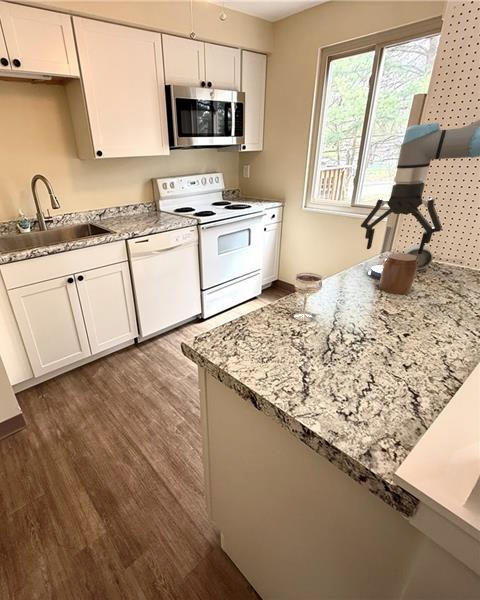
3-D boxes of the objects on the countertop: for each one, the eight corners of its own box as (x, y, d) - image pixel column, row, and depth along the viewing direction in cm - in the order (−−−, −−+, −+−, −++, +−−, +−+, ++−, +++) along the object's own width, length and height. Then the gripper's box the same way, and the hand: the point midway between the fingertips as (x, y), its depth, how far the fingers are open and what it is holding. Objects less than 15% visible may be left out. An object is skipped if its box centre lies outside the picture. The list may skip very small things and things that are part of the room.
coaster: (411, 277, 102) (412, 276, 102) (387, 283, 101) (387, 282, 100) (383, 268, 111) (384, 267, 111) (360, 273, 110) (360, 272, 109)
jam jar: (417, 291, 94) (427, 258, 89) (396, 295, 92) (405, 262, 88) (392, 282, 101) (400, 251, 97) (372, 286, 100) (379, 255, 95)
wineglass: (296, 323, 84) (302, 283, 78) (285, 312, 90) (290, 273, 85) (322, 321, 83) (329, 280, 78) (309, 310, 90) (314, 271, 85)
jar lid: (387, 268, 110) (389, 264, 109) (408, 277, 102) (410, 272, 101) (364, 271, 110) (365, 267, 109) (383, 280, 102) (385, 275, 101)
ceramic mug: (427, 263, 112) (433, 242, 108) (429, 271, 106) (435, 249, 102) (390, 261, 117) (394, 241, 114) (390, 268, 112) (395, 247, 108)
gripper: (468, 179, 87) (446, 252, 96) (363, 182, 104) (353, 243, 113) (465, 182, 82) (442, 258, 91) (357, 185, 99) (346, 249, 108)
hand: (393, 250), depth 102 cm, fingers open, 13 cm apart
